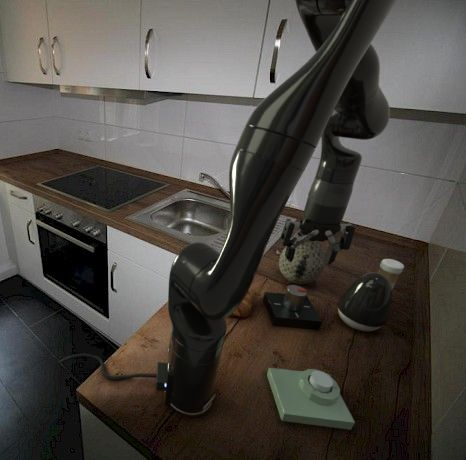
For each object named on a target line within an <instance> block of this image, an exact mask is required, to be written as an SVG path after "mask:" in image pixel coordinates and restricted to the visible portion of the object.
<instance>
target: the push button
mask: <svg viewBox="0 0 466 460" xmlns="http://www.w3.org/2000/svg"><path fill="white" fill-rule="evenodd" d="M327 374H328V373H326V372H324V371H322V372H321V370H319V371H314V372H312V374H311V376H310V379H309V383H310V385H311V386H312V387H313V388H314V389H315V390H317V391H319V392H321V393H328V392H329V391H330V389H331V387H332V385H333V381H332V379H333V378H332V377H331V378H332V379H331V378H330V376H331V375H330V376H328V375H327Z"/></svg>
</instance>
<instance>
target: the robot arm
mask: <svg viewBox="0 0 466 460" xmlns="http://www.w3.org/2000/svg"><path fill="white" fill-rule="evenodd" d="M396 2H397V0H294V4H295V8H296V11H297V13H298V17H299V19H300V20H301V23H302V25H303V27H304V29H305V31H306V34H307V36H308V38H309V41H310V43H311V45H312V47H313V49H314V51H315V53H314V54H313V55H312V56H311V57H310V58H309V59H308V60H307V62H305V63H304V64H303V65H302V66H301V67H300V68H299V69H297V71H295V72H294V73H292V75H290V76H289V77H288V78H287V79H285V80H284V81H283V82H282V83H280V85H279V86H277V87H276V88H275V89H274V90H273V91H272V92H270V93H268V95H267V96H266V97H265V98H264V99H263V100H262V101H260V103H258V105H256V107H255V108H254V109H253V111H252V112H251V114H250V115H249V116H248V119H247V121H246V123H245V125H244V127H243V129H242V132H241V134H240V137H239V139H238V141H237V143H236V146H235V147H234V148H235V149H234V150H233V152H232V155H231V159H230V163H229V170H228V186H229V188H228V189H229V207H230V209H229V210H230V211H229V212H230V213H229V214H230V215H229V225H228V230H227V234H226V237H225V240H224V242H223V244H222V245H223V246H222V247H221V250H219V249H217V248H216V247H214V246H213V245H212V244H210V243H207V242H204V241H194V242H192V243H191V242H190V243H189V244H187V245H186V246H184V247H183V248H181V250H180V251H179V252H178V253H177V254H176V256H175V257H174V259H173V262H172V264H171V266H170V271H169V276H168V293H167V294H168V295H167V312H168V317H169V319H170V334H169V342H168V346H167V350H166V361H165V362H161V361H158V362H157V364H156V373H147V372H135V373H129V374H122V375H117V376H113V375H109V374H108V373H107V370H106V368H105V363H104V360H103V359H102V358H101V357H99V356H97V355H95V354H92V353H75V354H72V355H69V356H66V357H64V358H62V359H61V360H59V363H60V364H64V363H66V362H67V361H70V360H73V359H79V358H90V359H94V360H96V361H98V362H99V364H100V369H101V373H102V375H103V376H104V378H106V379H107V380H110V381H119V380H125V379H133V378H154V379H155V378H156V379H155V381H156V383H155V391H159V392H163V395H164V396H163V397H164V398H163V405H164V406H165V407H170V408H171V410H173V411H174V412H175V413H177V414H179V415H181V416H183V417H187V418H199V417H201V416H203V415H205V414H206V413H208V412H209V410H210V408H211V407H212V403H213V400H214V399H215V398H216V394H214V391H215V386H216V381H217V377H218V372H219V368H220V363H221V358H222V355H223V348H224V344H225V340H226V335H227V330H228V329H227V322H226V319H227V318H229V317H231V316H230V315H231V314H232V313H233V312H234V311H235V310H236V309H237V308H238V307H239V306H240V304H241V303H242V301H243V300H244V298H245V296H246V294H247V292H248V291H250V288H251V286H252V284H253V281H254V279H255V276H256V274H257V271H258V268H259V267H260V264H261V262H262V258H263V256H264V253H265V251H266V248H267V245H268V244H269V241H270V239H271V237H272V234H273V232H274V230H275V228H276V225H277V223H278V221H279V219H280V217H281V215H282V213H283V211H284V209H285V208H286V206H287V203H288V201H289V199H290V197H291V195H292V193H293V192H294V190H295V188H296V186H297V185H298V182H299V181H300V179H301V177H303V174H304V172H305V171H306V168H307V167H308V164H309V162H310V160H311V159H312V156H313V154H314V153H315V151H316V148H317V146H318V145H319V142H320V143H321V146H320V149H321V150H320V158H319V161H318V165H317V168H316V172H315V176H314V179H313V181H312V183H311V185H310V187H309V191H308V193H307V198H306V202H305V204H304V205H305V206H304V208H303V213H302V218H300V220H299V221H295V220H292V219H291V218H287V219H286V220H285V223H284V225H283V228H282V231H281V235H280V236H279V241H280V243H281V244H282V246H283V247H285V246H287V248H286V251H285V257H286V259H287V260H288V262H292V261H293V258H294V254H295V251H296V249H295V248H296V247H298V246H299V245H300V244H304V243H305V242H306V241H308V240H309V241H319V242H320V243H325V241H326V242H327V243H328V245H329V246H327V248H326V251H325V257H324V261H325V265H329V266H330V265H332V263H334V262H335V261H336V257H337V255H338V253H339V252H340V251H342V250H344V251H348V250H350V249H351V244H352V241H353V238H354V235H355V231H356V227H355V226H354V225H353V224H352V223H351V222H349V221H346V222H344V223H342V221H343V218H344V217H345V214H346V211H347V208H348V206H349V203H350V201H351V196H352V194H353V190H354V184H355V182H356V178H357V176H358V174H359V173H358V172H359V169H360V167H361V164H362V161H363V156H362V154H361V153H360V152H358V151H356V150H354V149H352V148H351V149H350V148H348V147H346V146H344V145H342V143H341V140H340V138H345V139H351V140H361V141H368V140H372V139H374V138H377V137H378V136H380V135H381V134H382V133H383V132H384V131H385V130H386V128H387V127H388V124H389V121H390V117H391V110H390V105H389V102H388V100H387V98H386V96H385V94H384V92H383V91H382V88H381V86H380V73H381V72H380V71H381V66H380V58H379V54H378V52H377V50H376V49H375V46H373V44H372V42H373V41H374V39H375V37H376V36H377V34H378V32H379V30H380V29H381V27H382V25H383V24H384V23H385V21H386V19H387V17H388V16H389V14H390V12H391V11H392V9H393V7H394V5H395V4H396ZM298 228H299V230H297V229H298ZM296 230H297V231H296ZM295 231H296V232H295ZM294 232H295V233H294ZM338 232H341V233H340V236H339V241H337V240H336V239H335V237H334V236H335V235H336V234H338ZM293 233H294V234H293ZM302 236H303V237H302Z"/></svg>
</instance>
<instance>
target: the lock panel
mask: <svg viewBox="0 0 466 460" xmlns="http://www.w3.org/2000/svg"><path fill="white" fill-rule="evenodd" d="M285 294H286V293H283V292H282V293H281V292H269V291H267V292H266V291H264V294H263V297H262V302H263V305H264V308H265V310H266V313H267V314H268V317H269V320H270V322H271V325H272V327H279V328H290V329H291V328H292V329H299V330H310V331H320V330H321V326H322V324H323V320H322V318H321V317H320V314H319V313H318V311H317V310H316V308H315V307H314V305H313V303H312V302H311V300H310V299H309V297H308V295H306V297H305V300H304V303H303V306H302V309H301V310H300V311H291V310H289V309H287V308H286V307H284V305H283V301H284V297H285Z"/></svg>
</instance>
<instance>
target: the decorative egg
mask: <svg viewBox="0 0 466 460" xmlns="http://www.w3.org/2000/svg"><path fill="white" fill-rule="evenodd" d="M303 236H304V235H302V236H301V237H303ZM286 248H287V246H284V247H283V249H282V251H281V253H280V256H279V260H278V267H279V270H280V271H279V272H280V273H281V274H282V276H283V277H284V279H286V280H287V281H289V282H290V283H292V284H296V285H309V284H310V283H313V282H315V281H316V280H317V279H319V278H320V276H321V275H322V274H323V272H324V270H325V267H326V263H325V261H324V257H325V254H326V251H325V248H324V246H323V244H322V243H321V242H320V241H309V240H308V241H306V242H305V243H304V244H300V245H299V246H298V247H296V248H295V249H296V251H295V254H294V258H293V261H292V262H288V260H287V259H286V257H285V251H286Z"/></svg>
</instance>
